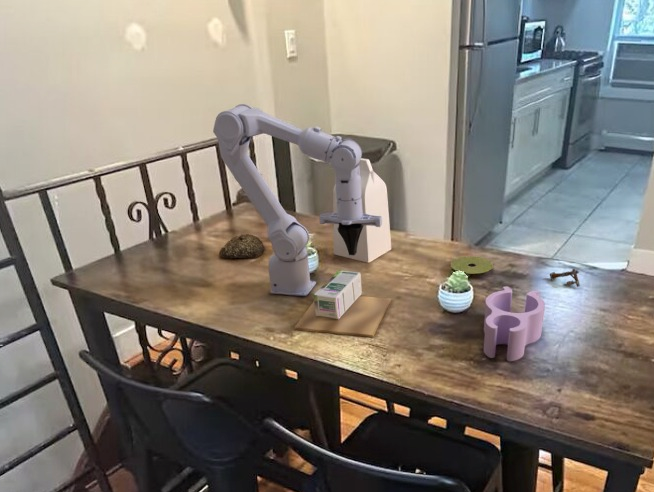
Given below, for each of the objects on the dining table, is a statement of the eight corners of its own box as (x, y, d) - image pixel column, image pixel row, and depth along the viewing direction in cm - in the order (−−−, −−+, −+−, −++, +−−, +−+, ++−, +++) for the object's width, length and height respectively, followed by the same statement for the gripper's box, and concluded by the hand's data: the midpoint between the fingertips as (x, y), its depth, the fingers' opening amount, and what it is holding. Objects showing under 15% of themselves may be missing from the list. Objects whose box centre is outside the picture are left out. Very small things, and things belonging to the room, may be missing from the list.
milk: (391, 249, 173) (389, 156, 159) (368, 262, 164) (364, 166, 151) (357, 241, 178) (353, 151, 164) (333, 254, 170) (326, 160, 156)
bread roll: (260, 260, 167) (257, 243, 164) (216, 260, 167) (213, 243, 165) (269, 243, 178) (267, 227, 175) (228, 243, 178) (225, 227, 176)
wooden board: (294, 329, 133) (294, 327, 133) (320, 294, 148) (320, 292, 148) (372, 337, 130) (372, 334, 129) (391, 300, 145) (391, 298, 144)
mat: (481, 283, 152) (482, 276, 151) (442, 274, 157) (442, 267, 156) (499, 268, 160) (500, 261, 159) (461, 259, 165) (462, 253, 164)
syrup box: (361, 272, 144) (335, 296, 132) (362, 294, 147) (338, 320, 135) (339, 269, 145) (312, 293, 134) (341, 291, 148) (315, 317, 137)
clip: (530, 365, 120) (534, 335, 116) (470, 354, 123) (471, 324, 120) (546, 320, 135) (549, 292, 132) (491, 311, 139) (494, 284, 135)
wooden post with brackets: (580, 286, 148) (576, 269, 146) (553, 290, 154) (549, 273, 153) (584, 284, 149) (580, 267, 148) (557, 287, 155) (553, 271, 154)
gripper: (312, 201, 134) (318, 258, 141) (375, 204, 131) (378, 262, 138) (322, 192, 140) (327, 247, 147) (383, 194, 137) (385, 250, 144)
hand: (352, 253), depth 143 cm, fingers closed
